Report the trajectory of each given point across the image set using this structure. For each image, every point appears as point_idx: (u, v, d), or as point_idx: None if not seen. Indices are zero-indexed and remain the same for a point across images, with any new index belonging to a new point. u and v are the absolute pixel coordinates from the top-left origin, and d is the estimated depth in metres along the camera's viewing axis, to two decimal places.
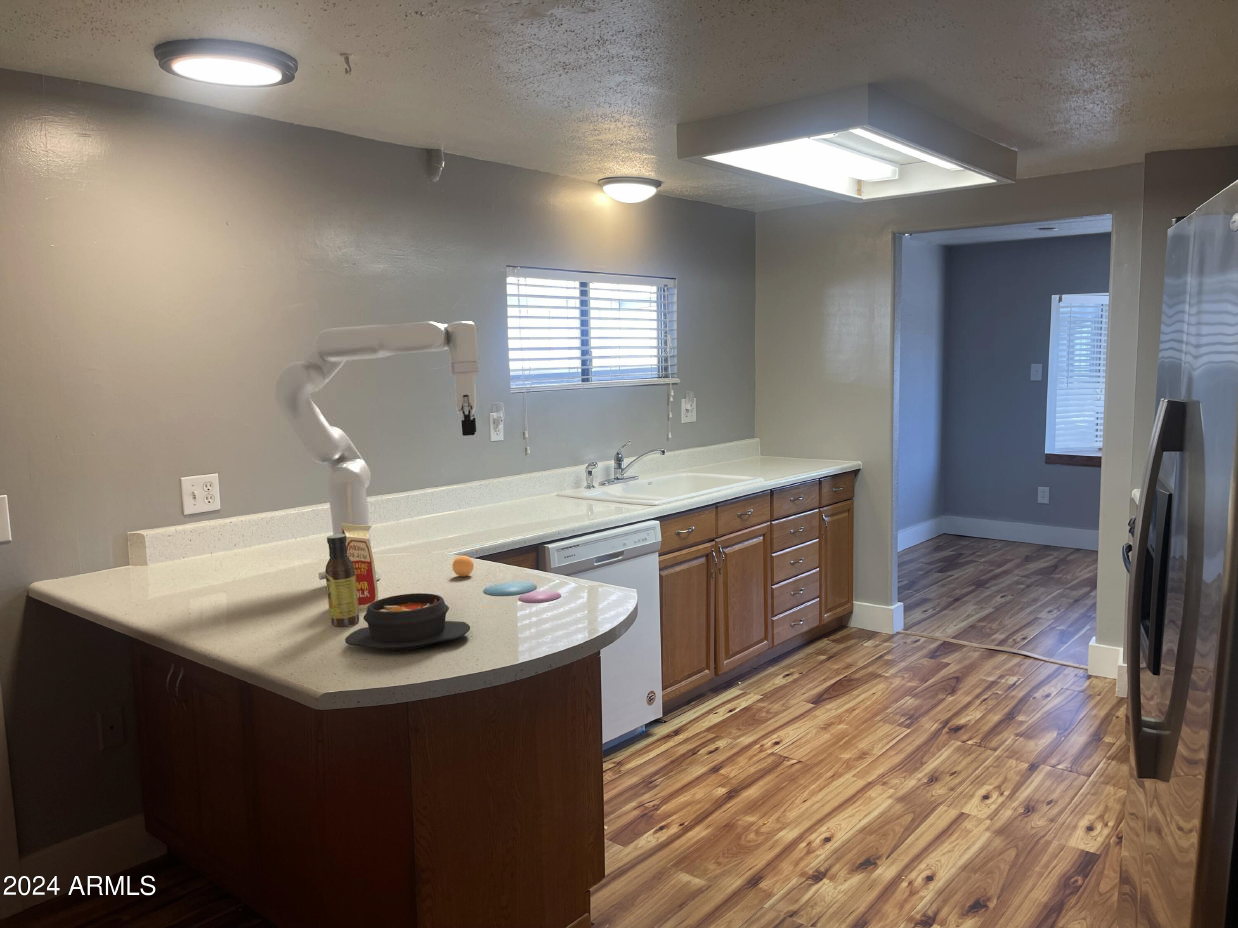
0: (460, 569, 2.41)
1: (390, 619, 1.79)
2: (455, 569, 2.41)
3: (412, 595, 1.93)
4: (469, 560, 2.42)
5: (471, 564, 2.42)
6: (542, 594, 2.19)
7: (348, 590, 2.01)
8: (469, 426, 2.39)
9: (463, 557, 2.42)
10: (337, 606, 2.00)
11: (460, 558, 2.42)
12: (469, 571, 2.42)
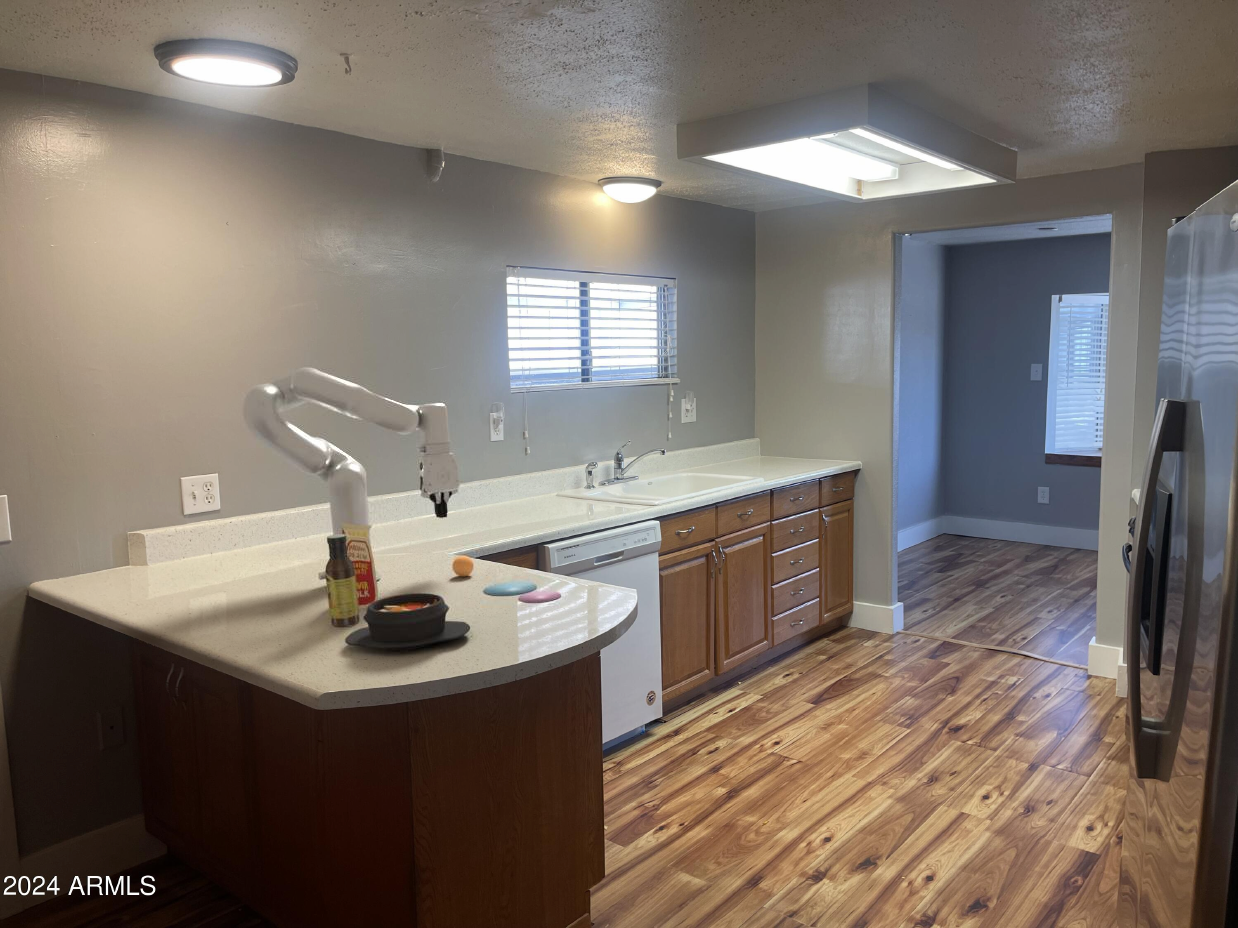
0: (460, 569, 2.41)
1: (390, 619, 1.79)
2: (455, 569, 2.41)
3: (412, 595, 1.93)
4: (469, 560, 2.42)
5: (471, 564, 2.42)
6: (542, 594, 2.19)
7: (348, 590, 2.01)
8: None
9: (463, 557, 2.42)
10: (337, 606, 2.00)
11: (460, 558, 2.42)
12: (469, 571, 2.42)
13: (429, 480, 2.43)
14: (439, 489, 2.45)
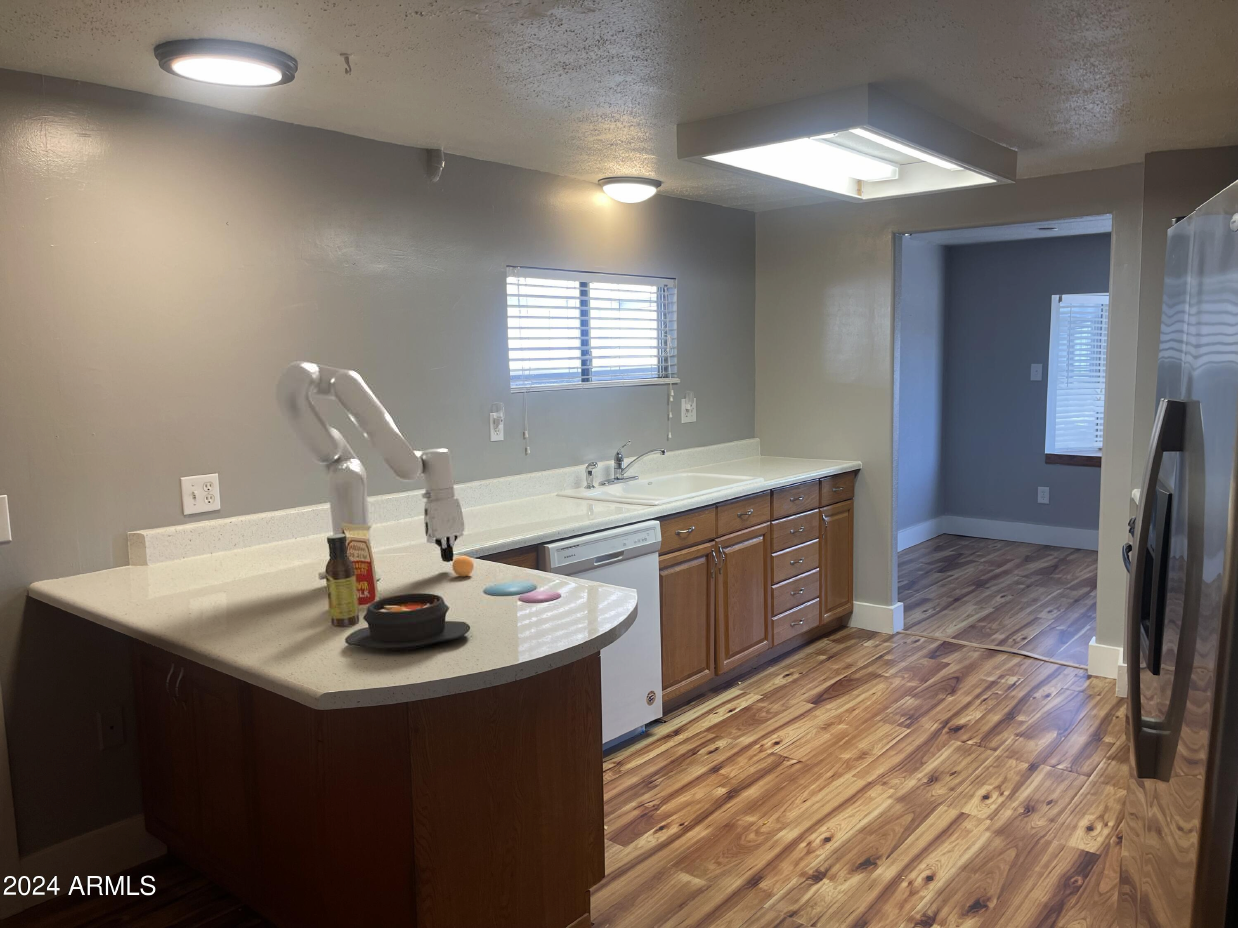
0: (460, 569, 2.41)
1: (390, 619, 1.79)
2: (455, 569, 2.41)
3: (412, 595, 1.93)
4: (469, 560, 2.42)
5: (471, 564, 2.42)
6: (542, 594, 2.19)
7: (348, 590, 2.01)
8: None
9: (463, 557, 2.42)
10: (337, 606, 2.00)
11: (460, 558, 2.42)
12: (469, 571, 2.42)
13: (434, 526, 2.45)
14: (444, 534, 2.47)
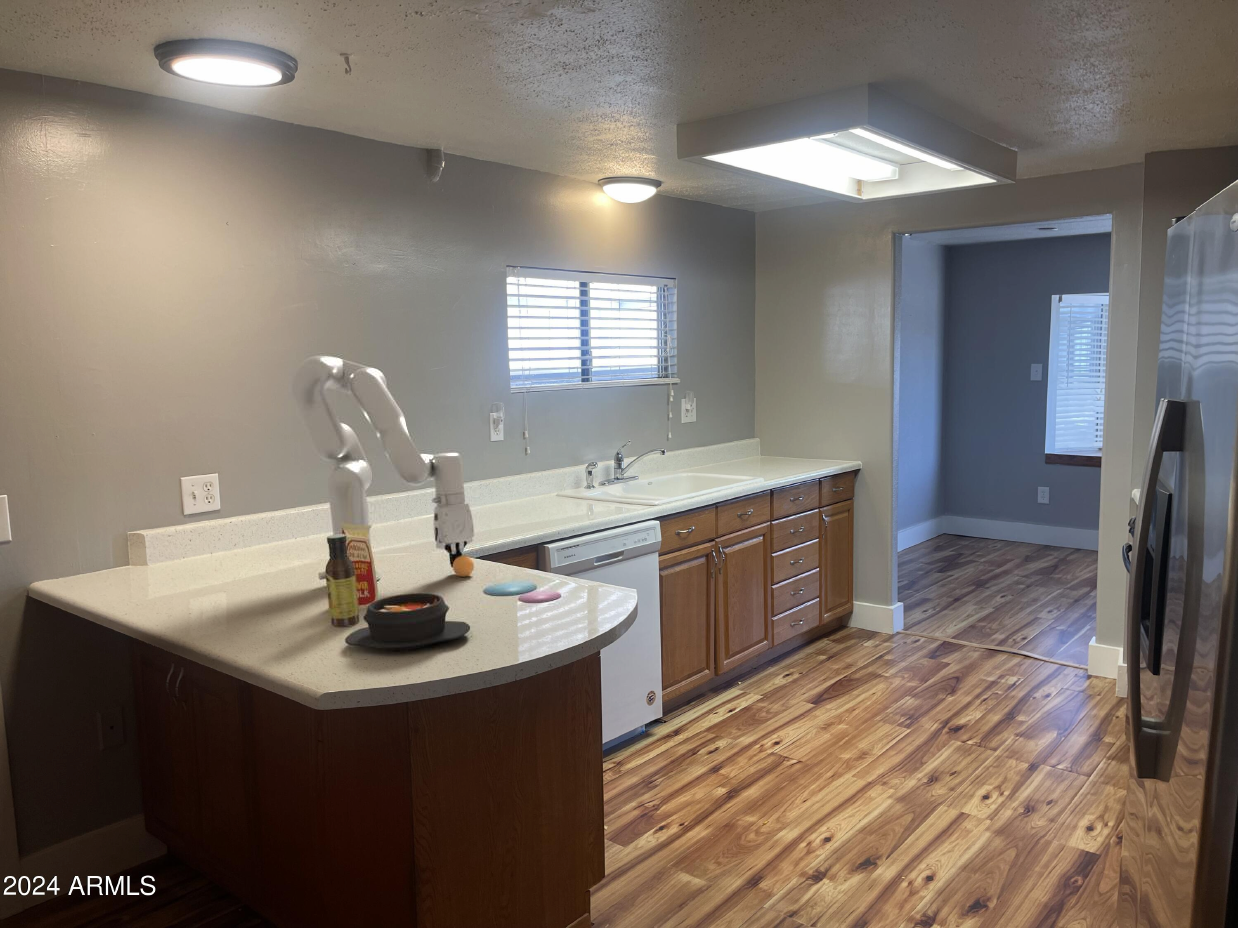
0: (460, 569, 2.41)
1: (390, 619, 1.79)
2: (455, 569, 2.41)
3: (412, 595, 1.93)
4: (469, 560, 2.42)
5: (471, 564, 2.42)
6: (542, 594, 2.19)
7: (348, 590, 2.01)
8: None
9: (463, 557, 2.42)
10: (337, 606, 2.00)
11: (460, 558, 2.42)
12: (469, 571, 2.42)
13: (445, 531, 2.41)
14: (454, 540, 2.43)
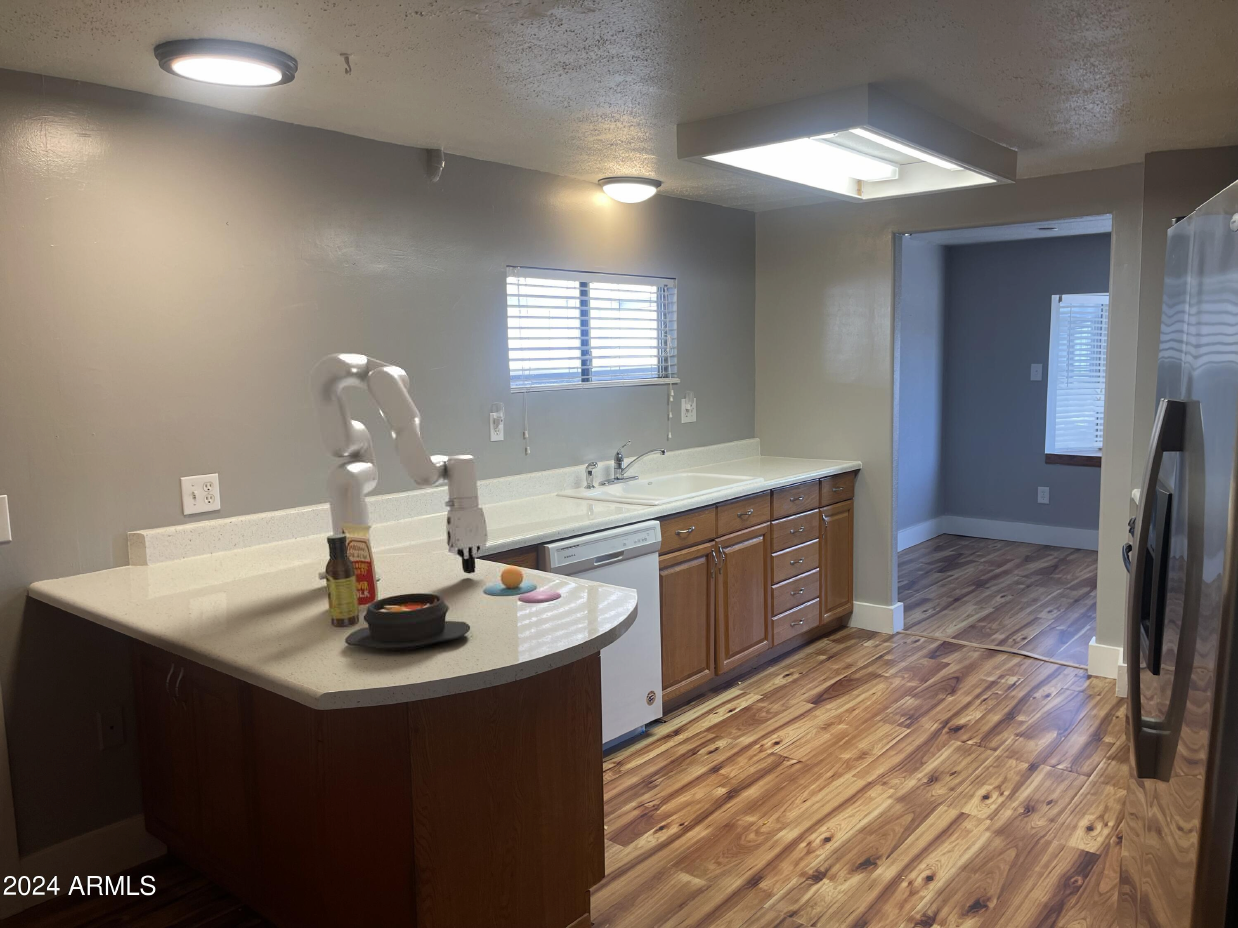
0: (505, 586, 2.26)
1: (390, 619, 1.79)
2: (502, 581, 2.26)
3: (412, 595, 1.93)
4: (519, 584, 2.27)
5: None
6: (542, 594, 2.19)
7: (348, 590, 2.01)
8: None
9: (517, 581, 2.25)
10: (337, 606, 2.00)
11: (514, 581, 2.25)
12: None
13: (457, 535, 2.35)
14: (467, 544, 2.37)
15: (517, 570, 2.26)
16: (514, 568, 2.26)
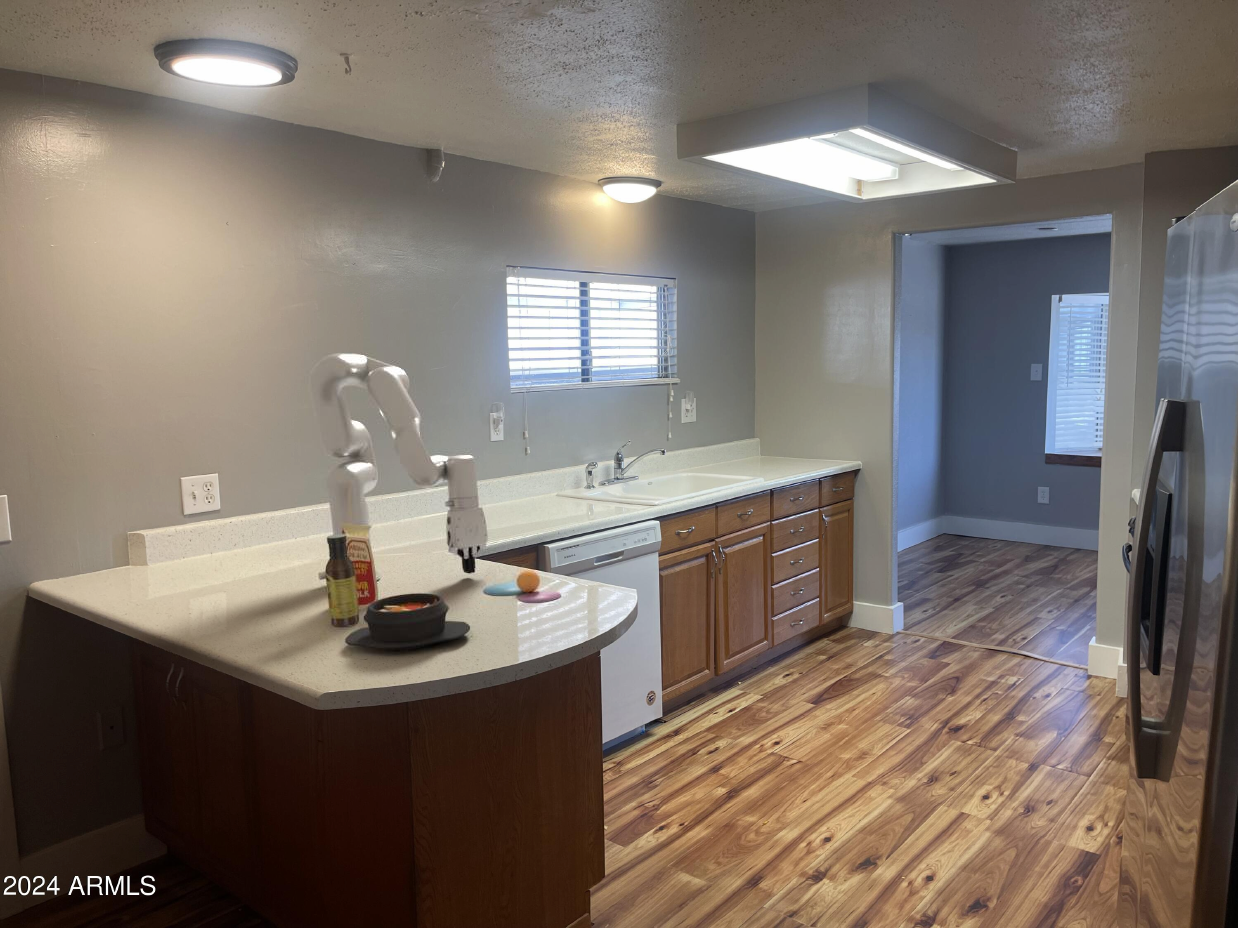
0: (518, 576, 2.22)
1: (390, 619, 1.79)
2: (518, 580, 2.21)
3: (412, 595, 1.93)
4: None
5: None
6: (542, 594, 2.19)
7: (348, 590, 2.01)
8: None
9: None
10: (337, 606, 2.00)
11: None
12: None
13: (457, 535, 2.35)
14: (467, 544, 2.37)
15: None
16: None
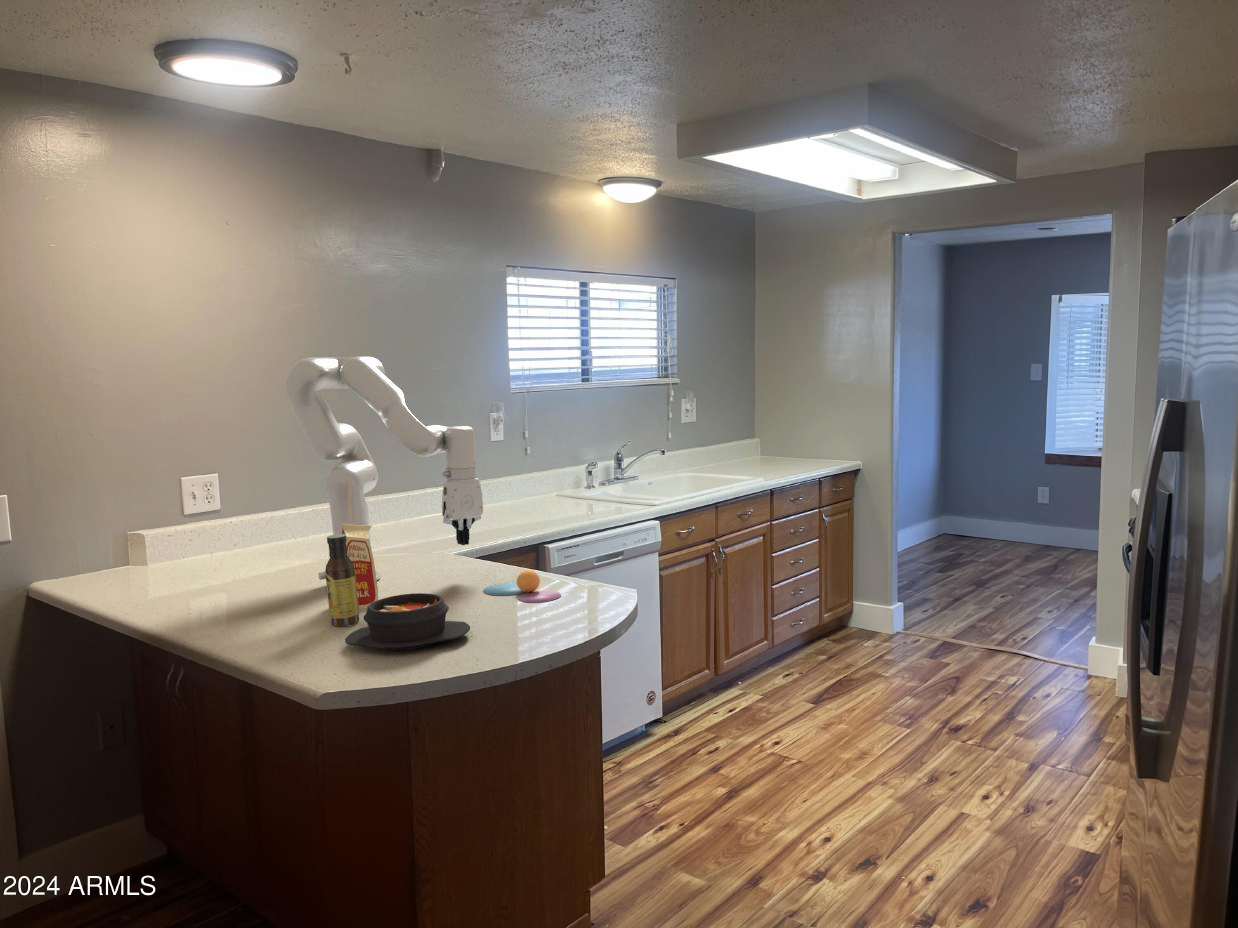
0: (518, 576, 2.22)
1: (390, 619, 1.79)
2: (518, 580, 2.21)
3: (412, 595, 1.93)
4: None
5: None
6: (542, 594, 2.19)
7: (348, 590, 2.01)
8: None
9: None
10: (337, 606, 2.00)
11: None
12: None
13: (453, 506, 2.35)
14: (462, 516, 2.37)
15: None
16: None
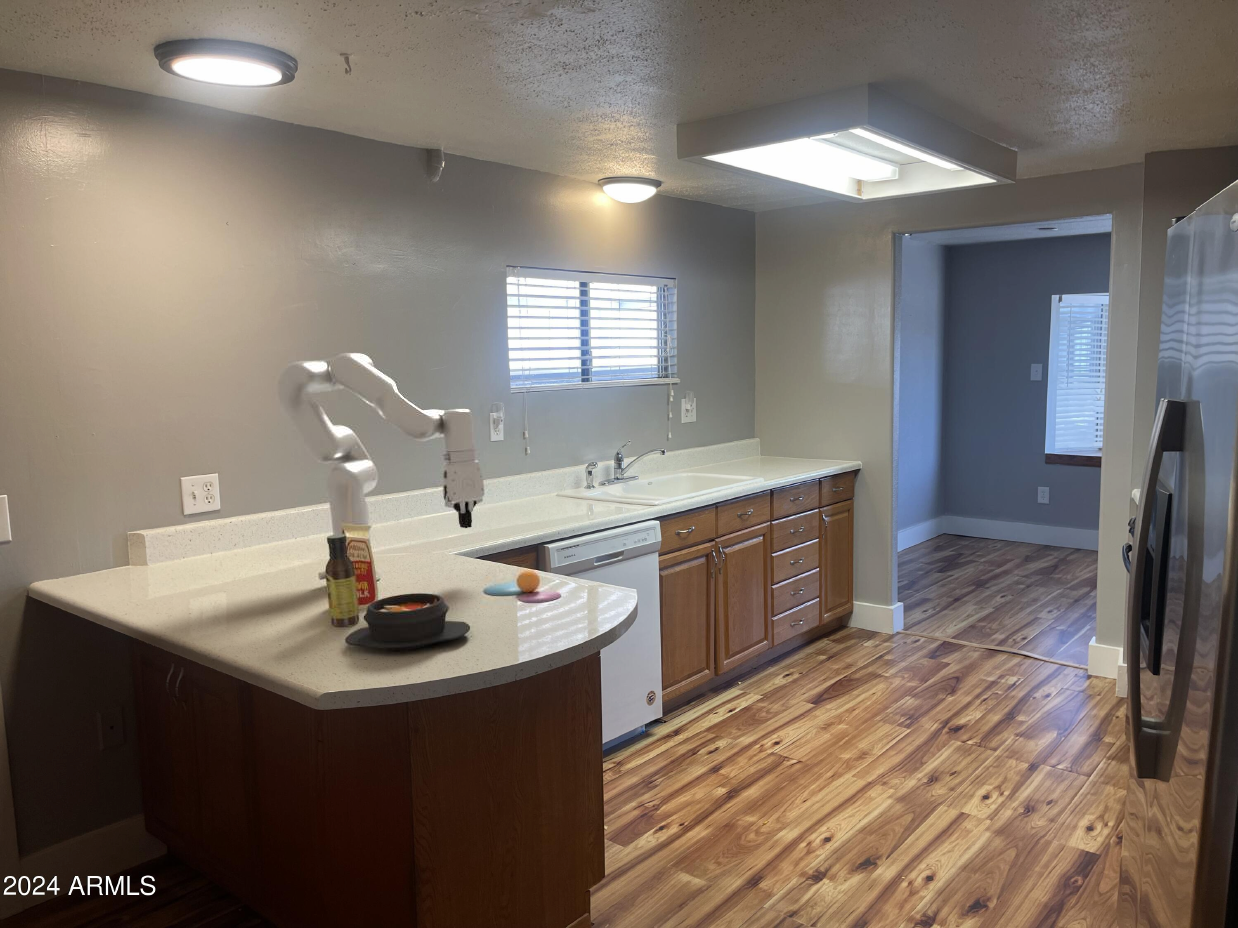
0: (518, 576, 2.22)
1: (390, 619, 1.79)
2: (518, 580, 2.21)
3: (412, 595, 1.93)
4: None
5: None
6: (542, 594, 2.19)
7: (348, 590, 2.01)
8: None
9: None
10: (337, 606, 2.00)
11: None
12: None
13: (453, 489, 2.34)
14: (463, 498, 2.36)
15: None
16: None
